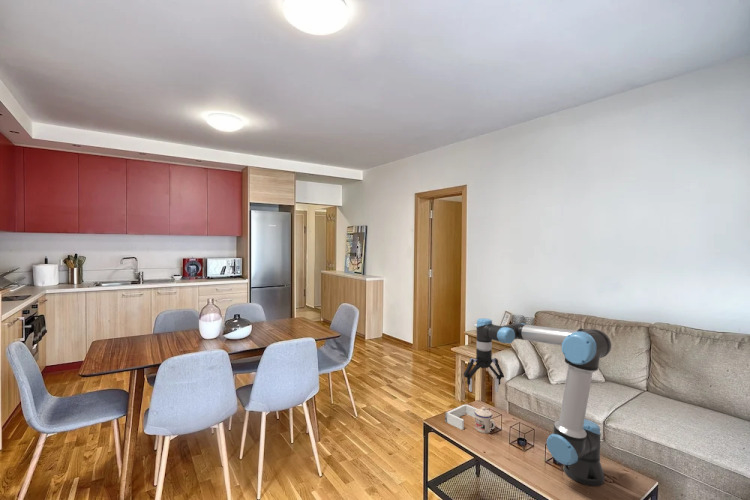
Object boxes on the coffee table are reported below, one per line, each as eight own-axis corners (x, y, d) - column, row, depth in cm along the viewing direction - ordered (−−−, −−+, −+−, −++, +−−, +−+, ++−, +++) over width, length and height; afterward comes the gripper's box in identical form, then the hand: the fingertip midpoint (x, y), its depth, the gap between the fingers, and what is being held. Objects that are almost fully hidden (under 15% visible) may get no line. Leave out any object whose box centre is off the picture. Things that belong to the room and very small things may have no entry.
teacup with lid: (470, 428, 193) (471, 406, 193) (481, 423, 198) (482, 402, 198) (489, 437, 183) (489, 415, 183) (500, 432, 188) (500, 410, 188)
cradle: (482, 419, 203) (482, 410, 203) (462, 429, 190) (462, 420, 190) (465, 412, 211) (465, 403, 211) (444, 421, 199) (445, 412, 199)
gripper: (505, 347, 186) (504, 388, 186) (457, 347, 186) (457, 388, 186) (511, 351, 179) (510, 393, 179) (461, 351, 178) (461, 393, 178)
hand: (483, 391), depth 182 cm, fingers open, 13 cm apart
